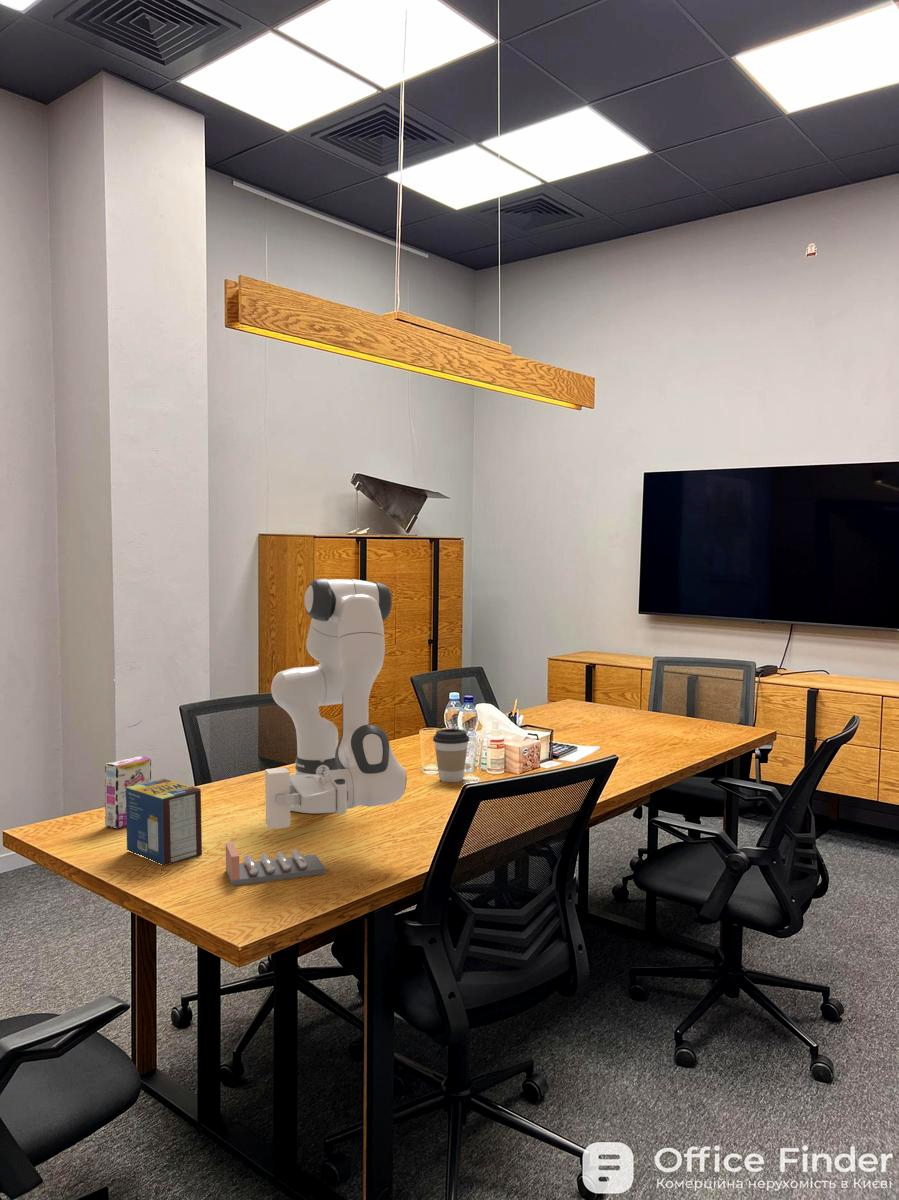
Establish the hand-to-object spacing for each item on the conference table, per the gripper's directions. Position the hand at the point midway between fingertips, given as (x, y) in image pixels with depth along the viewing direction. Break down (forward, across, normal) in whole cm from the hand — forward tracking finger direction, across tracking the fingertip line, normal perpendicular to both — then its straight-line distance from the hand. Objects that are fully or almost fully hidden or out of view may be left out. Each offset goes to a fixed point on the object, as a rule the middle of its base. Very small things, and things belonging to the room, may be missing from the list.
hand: (273, 795), depth 196 cm
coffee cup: (-65, -62, +17) cm, 92 cm away
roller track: (0, 0, +17) cm, 17 cm away
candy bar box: (+29, -50, +17) cm, 60 cm away
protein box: (+22, -22, +17) cm, 35 cm away
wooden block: (-1, 0, +6) cm, 7 cm away
